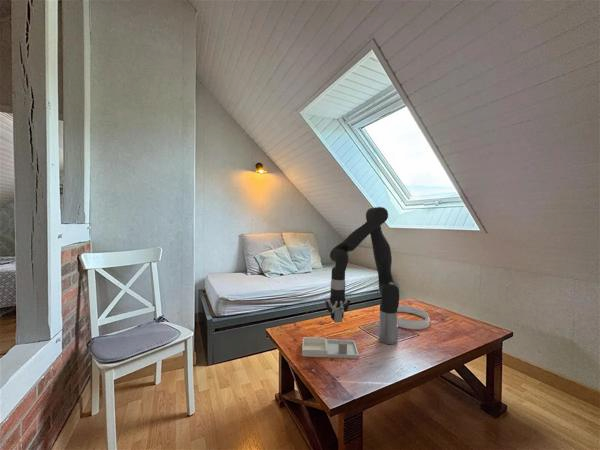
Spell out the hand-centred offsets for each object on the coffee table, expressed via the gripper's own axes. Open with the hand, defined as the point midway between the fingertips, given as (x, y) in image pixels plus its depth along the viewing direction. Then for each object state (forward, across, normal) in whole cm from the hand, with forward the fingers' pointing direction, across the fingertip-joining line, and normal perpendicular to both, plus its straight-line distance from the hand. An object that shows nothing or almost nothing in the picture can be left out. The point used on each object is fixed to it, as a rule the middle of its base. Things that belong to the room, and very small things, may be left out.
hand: (336, 318), depth 132 cm
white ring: (+16, -58, -24) cm, 65 cm away
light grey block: (+15, -1, +7) cm, 17 cm away
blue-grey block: (+1, 0, 0) cm, 1 cm away
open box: (+16, +12, +1) cm, 20 cm away
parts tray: (+16, -2, +3) cm, 16 cm away
